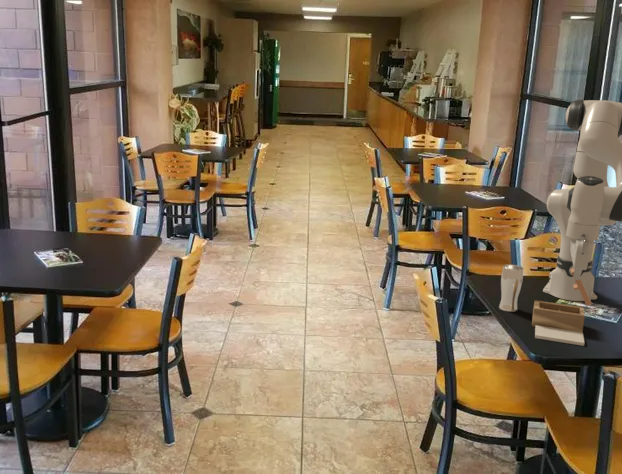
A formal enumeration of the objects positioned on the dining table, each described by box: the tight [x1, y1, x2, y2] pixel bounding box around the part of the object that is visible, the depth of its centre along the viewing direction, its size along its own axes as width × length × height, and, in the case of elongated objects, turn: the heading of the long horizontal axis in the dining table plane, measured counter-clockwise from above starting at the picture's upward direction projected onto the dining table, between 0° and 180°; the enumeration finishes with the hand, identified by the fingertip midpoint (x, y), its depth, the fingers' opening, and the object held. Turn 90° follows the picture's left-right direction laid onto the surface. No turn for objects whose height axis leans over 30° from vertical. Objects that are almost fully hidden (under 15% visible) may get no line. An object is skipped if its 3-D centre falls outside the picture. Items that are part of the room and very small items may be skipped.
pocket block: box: [531, 299, 586, 332], centre depth 211 cm, size 9×15×6 cm, turn 71°
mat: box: [534, 325, 585, 347], centre depth 202 cm, size 9×14×1 cm, turn 71°
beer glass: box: [498, 264, 524, 313], centre depth 223 cm, size 7×7×15 cm
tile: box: [571, 268, 593, 307], centre depth 197 cm, size 5×11×3 cm
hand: (575, 276), depth 196 cm, fingers closed on tile, 5 cm apart
